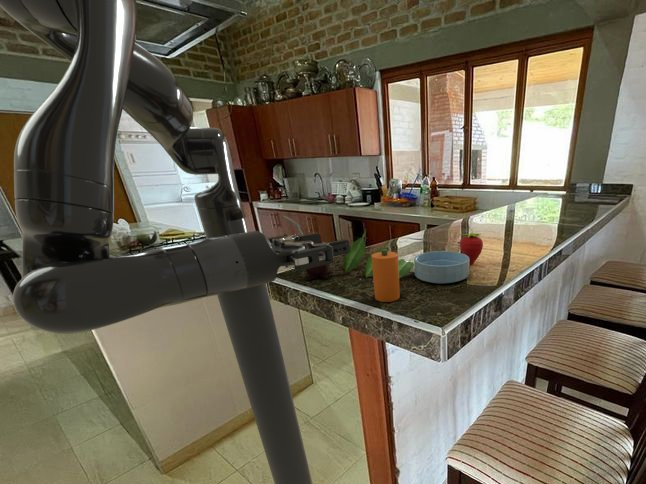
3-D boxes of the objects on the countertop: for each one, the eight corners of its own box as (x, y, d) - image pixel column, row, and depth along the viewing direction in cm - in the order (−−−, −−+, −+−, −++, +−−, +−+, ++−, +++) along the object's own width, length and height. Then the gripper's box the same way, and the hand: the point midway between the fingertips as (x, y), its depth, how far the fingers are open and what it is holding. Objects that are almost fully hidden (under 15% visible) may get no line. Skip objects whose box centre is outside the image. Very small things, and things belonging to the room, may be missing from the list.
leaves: (400, 300, 83) (422, 262, 89) (401, 286, 77) (423, 246, 83) (337, 272, 86) (362, 237, 91) (333, 257, 80) (359, 221, 85)
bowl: (403, 278, 80) (403, 260, 78) (435, 265, 89) (435, 248, 87) (448, 289, 73) (449, 269, 71) (478, 273, 82) (479, 256, 80)
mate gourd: (339, 275, 83) (331, 213, 77) (313, 284, 78) (301, 218, 71) (320, 270, 88) (311, 210, 81) (294, 278, 82) (282, 215, 76)
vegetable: (369, 298, 69) (365, 250, 65) (387, 290, 73) (383, 245, 69) (388, 304, 66) (384, 254, 62) (405, 296, 70) (403, 249, 66)
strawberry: (461, 269, 86) (462, 230, 81) (457, 261, 92) (458, 224, 88) (484, 268, 86) (486, 229, 81) (478, 260, 92) (481, 223, 88)
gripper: (246, 243, 40) (356, 223, 50) (208, 229, 49) (308, 215, 59) (260, 301, 43) (361, 271, 54) (222, 278, 52) (314, 257, 63)
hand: (333, 242), depth 56 cm, fingers open, 8 cm apart
